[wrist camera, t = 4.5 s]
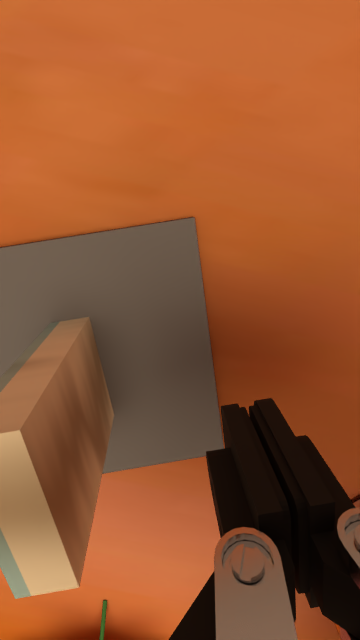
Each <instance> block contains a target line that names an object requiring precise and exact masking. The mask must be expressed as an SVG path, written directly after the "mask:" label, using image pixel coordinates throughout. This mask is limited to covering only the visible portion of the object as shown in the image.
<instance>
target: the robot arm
mask: <svg viewBox="0 0 360 640" xmlns="http://www.w3.org/2000/svg"><path fill="white" fill-rule="evenodd" d="M221 415H222V424H223V433H224V442H225V449H219V450H213V451H206V458H207V465H208V472H209V479H210V485H211V490H212V496H213V501H214V506H215V511H216V516H217V521H218V526H219V531H220V536H221V539H220V540H219V542H218V544H217V546H216V549H215V556H214V570H215V571H214V572H213V574H212V575H211V577H210V578H209V580H208V581H207V583H206V584H205V586H204V587H203V589H202V590H201V592H200V593H199V595H198V596H197V598H196V599H195V601H194V602H193V604H192V605H191V607H190V608H189V610H188V611H187V613H186V614H185V616H184V617H183V619H182V620H181V622H180V623H179V625H178V626H177V628H176V629H175V631H174V632H173V634H172V635H171V637H170V638H169V640H298V639H297V634H296V629H295V624H294V622H295V620H296V603H295V588H296V590H297V592H298V593H299V594H300V593H305V595H306V597H307V600H308V603H309V605H310V608H314V607H320V609H321V612H322V614H323V615H324V616H326V617H327V618H329V619H330V620H331V621H333V622H334V623H335V626H336V628H337V631H338V633H339V636H340V637H341V639H342V640H360V499H359V500H357V501H356V502H354V503H352V501H351V500H350V498H349V497H348V495H347V494H346V492H345V491H344V489H343V488H342V486H341V485H340V483H339V482H338V480H337V479H336V477H335V476H334V474H333V473H332V471H331V470H330V468H329V467H328V465H327V464H326V462H325V461H324V459H323V458H322V456H321V455H320V453H319V452H318V450H317V449H316V447H315V446H314V444H313V443H312V441H311V440H310V439H309V437H308V436H306V435H304V436H298V437H295V435H294V433H293V432H292V430H291V429H290V427H289V425H288V424H287V422H286V420H285V419H284V417H283V415H282V414H281V412H280V410H279V409H278V407H277V405H276V404H275V402H274V401H273V399H272V398H268V399H262V400H256V401H254V406H249V415H248V413H247V410H246V408H245V407H241V408H239V405H238V404H231V405H225V406H221ZM249 416H250V417H249Z"/></svg>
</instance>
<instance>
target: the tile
mask: <svg viewBox="0 0 360 640" xmlns="http://www.w3.org/2000/svg"><path fill="white" fill-rule="evenodd" d="M113 418H114V412H113V408H112V404H111V400H110V397H109V393H108V389H107V385H106V381H105V377H104V373H103V369H102V365H101V361H100V357H99V353H98V350H97V346H96V342H95V338H94V334H93V330H92V326H91V322H90V318H89V317H85V318H79V319H73V320H67V321H61V322H54V323H50V324H49V325H48V326H47V327H46V328H45V330H44V331H43V332H42V333H41V334H40V335H39V336H38V337H37V338H36V339H35V340H34V342H33V343H32V344H31V345H30V346H29V347H28V348H27V349H26V350H25V351H24V352H23V354H22V355H21V356H20V357H19V358H18V359H17V360H16V361H15V362H14V363H13V365H12V366H11V367H10V368H9V369H8V370H7V371H6V372H5V373H4V374H3V375H2V377H1V378H0V568H1V570H2V572H3V574H4V576H5V578H6V580H7V582H8V584H9V586H10V589H11V591H12V593H13V595H14V597H15V599H17V598H22V597H28V596H34V595H40V594H45V593H51V592H57V591H62V590H68V589H74V588H79V586H80V581H81V576H82V571H83V566H84V561H85V556H86V551H87V546H88V541H89V536H90V531H91V527H92V522H93V517H94V512H95V507H96V502H97V497H98V492H99V487H100V482H101V477H102V472H103V467H104V463H105V458H106V453H107V448H108V443H109V438H110V433H111V428H112V423H113Z"/></svg>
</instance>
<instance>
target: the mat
mask: <svg viewBox="0 0 360 640" xmlns="http://www.w3.org/2000/svg"><path fill="white" fill-rule="evenodd" d="M85 317H89V318H90V322H91V326H92V330H93V334H94V338H95V342H96V346H97V350H98V353H99V357H100V361H101V365H102V369H103V373H104V377H105V381H106V385H107V389H108V393H109V397H110V400H111V404H112V408H113V412H114V418H113V423H112V428H111V433H110V438H109V443H108V448H107V453H106V458H105V463H104V467H103V472H102V474H103V473H109V472H115V471H121V470H127V469H133V468H139V467H145V466H151V465H156V464H162V463H168V462H174V461H180V460H186V459H192V458H198V457H204V456H206V451H213V450H219V449H224V446H223V438H222V430H221V422H220V414H219V406H218V398H217V390H216V383H215V375H214V367H213V359H212V351H211V343H210V335H209V327H208V319H207V311H206V304H205V296H204V288H203V280H202V272H201V264H200V256H199V248H198V240H197V233H196V225H195V218H194V217H190V218H184V219H178V220H171V221H165V222H159V223H152V224H146V225H140V226H133V227H127V228H121V229H114V230H108V231H102V232H95V233H89V234H83V235H76V236H70V237H63V238H57V239H51V240H44V241H38V242H32V243H25V244H19V245H13V246H6V247H0V378H1V377H2V375H3V374H4V373H5V372H6V371H7V370H8V369H9V368H10V367H11V366H12V365H13V363H14V362H15V361H16V360H17V359H18V358H19V357H20V356H21V355H22V354H23V352H24V351H25V350H26V349H27V348H28V347H29V346H30V345H31V344H32V343H33V342H34V340H35V339H36V338H37V337H38V336H39V335H40V334H41V333H42V332H43V331H44V330H45V328H46V327H47V326H48V325H49V324H50V323H54V322H61V321H67V320H73V319H79V318H85Z"/></svg>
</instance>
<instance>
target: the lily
mask: <svg viewBox="0 0 360 640" xmlns="http://www.w3.org/2000/svg"><path fill="white" fill-rule="evenodd" d="M106 608H107V600H105V601H103V609H102V620H101V630H100V639H99V640H104V630H105V620H106Z"/></svg>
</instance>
